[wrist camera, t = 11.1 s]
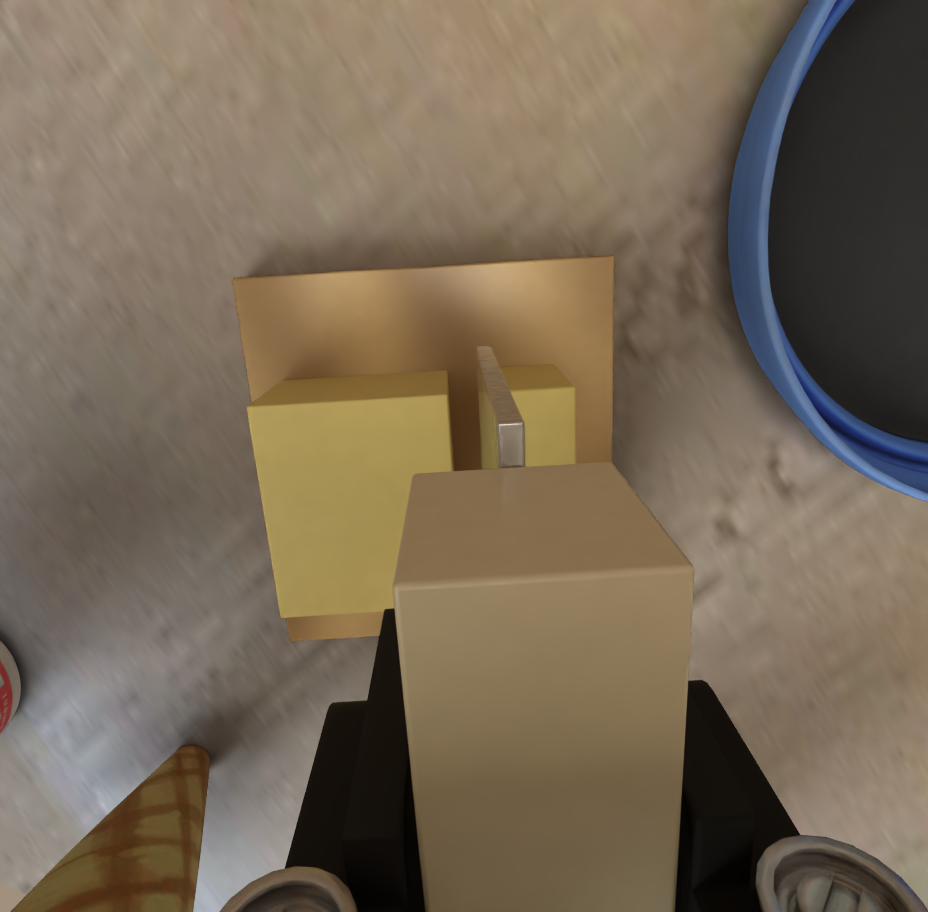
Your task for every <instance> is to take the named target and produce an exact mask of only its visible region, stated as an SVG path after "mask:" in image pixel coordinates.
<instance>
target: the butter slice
mask: <svg viewBox="0 0 928 912" xmlns="http://www.w3.org/2000/svg"><path fill="white" fill-rule="evenodd" d="M500 369H501V371H502V373H503V376H504V378H505V380H506V382H507V385H508V387H509V389H510V391H511V394H512V396H513V398H514V401H515V403H516V405H517V407H518V410H519V412H520V414H521V416H522V419H523V421H524V423H525V456H526V467H534V466H551V465H567V464H576V387H575V386H574V385H573V384H572V383H571V382H570V381H569V380H568V379H567V377H566V376H565V375H564V374H563V373H562V372H561V371H560V370H559V369H558V368H557V367H556V366H555V365H553V364H544V365H528V366H511V367H500Z"/></svg>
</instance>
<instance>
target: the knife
mask: <svg viewBox="0 0 928 912" xmlns="http://www.w3.org/2000/svg"><path fill="white" fill-rule="evenodd" d="M476 359H477V378H478V398H479V418H480V437H481V457H482V470H467V471H451V472H434V473H417V474H415V475H413V477H412V480H411V486H410V492H409V497H408V503H407V509H406V514H405V520H404V525H403V531H402V537H401V542H400V548H399V554H398V559H397V565H396V571H395V576H394V582H393V588H392V589H393V599H394V609H395V619H396V629H397V638H398V648H399V658H400V668H401V678H402V688H403V698H404V708H405V717H406V727H407V737H408V747H409V757H410V767H411V777H412V787H413V796H414V806H415V816H416V826H417V836H418V846H419V856H420V865H421V875H422V885H423V895H424V905H425V912H675V901H676V883H677V866H678V848H679V831H680V814H681V796H682V779H683V761H684V744H685V727H686V709H687V692H688V674H689V657H690V640H691V622H692V605H693V587H694V568H693V565H692V564H691V562H690V561H689V560H688V559H687V557H686V556H685V555H684V554H683V552H682V551H681V550H680V548H679V547H678V546H677V545H676V543H675V542H674V541H673V539H672V538H671V537H670V536H669V534H668V533H667V532H666V531H665V529H664V528H663V527H662V525H661V524H660V523H659V522H658V520H657V519H656V518H655V517H654V515H653V514H652V513H651V511H650V510H649V509H648V508H647V506H646V505H645V504H644V502H643V501H642V500H641V499H640V497H639V496H638V495H637V494H636V492H635V491H634V490H633V488H632V487H631V486H630V485H629V483H628V482H627V481H626V480H625V478H624V477H623V476H622V474H621V473H620V472H619V471H618V469H617V468H616V467H615V465H614V464H613V463H610V462H601V463H584V464H567V465H551V466H534V467H526V456H525V423H524V421H523V419H522V416H521V414H520V412H519V410H518V407H517V405H516V403H515V401H514V398H513V396H512V394H511V391H510V389H509V387H508V385H507V382H506V380H505V378H504V376H503V373H502V371H501V369H500V367H499V364H498V362H497V360H496V358H495V355H494V353H493V351H492V348H491V347H490V346H483V347H476Z"/></svg>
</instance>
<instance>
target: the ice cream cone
mask: <svg viewBox="0 0 928 912" xmlns="http://www.w3.org/2000/svg"><path fill="white" fill-rule="evenodd" d="M209 768H210V757H209V755H208V753H207V752H206V751H205V750H204V749H202V748H201V747H197V746H183V747H180V748H179V749H178V750H177V751H176V752H175V753H174V754H173V755H172V756H171V757H169V758H168V759H167V760H166V761H165V762H164V763H163V764H162V765H161V766H160V767H159V768H158V769H156V770H155V771H154V772H153V773H152V774H151V775H150V776H149V777H148V778H147V779H146V780H145V781H143V782H142V783H141V784H140V785H139V786H138V787H137V788H136V789H135V790H134V791H133V792H132V793H130V794H129V795H128V796H127V797H126V798H125V799H124V800H123V801H122V802H121V803H120V804H119V805H118V806H116V807H115V808H114V809H113V810H112V811H111V812H110V813H109V814H108V815H107V816H106V817H105V818H104V819H103V820H102V821H101V822H100V823H99V824H98V825H97V826H96V827H94V828H93V829H92V830H91V831H90V832H89V833H88V834H87V835H86V836H85V837H84V838H83V839H82V840H81V841H80V842H79V843H78V844H77V845H76V846H75V847H74V848H73V849H72V850H71V851H70V852H69V853H68V854H67V855H66V856H65V857H64V858H63V859H61V860H60V862H59V863H58V864H57V865H56V866H55V867H54V868H53V869H52V870H51V871H50V872H49V873H48V874H47V875H46V876H45V877H44V878H43V879H42V880H41V881H40V882H39V883H38V884H37V885H36V886H35V887H34V888H33V889H32V890H31V891H30V892H29V893H28V894H27V895H26V896H25V897H24V898H23V899H22V901H20V902H19V904H18V905H17V906H16V907H15V908H14V909H13V910H12V911H11V912H193V908H194V900H195V892H196V884H197V876H198V868H199V861H200V853H201V844H202V834H203V825H204V815H205V806H206V796H207V787H208V778H209Z"/></svg>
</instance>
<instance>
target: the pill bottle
mask: <svg viewBox="0 0 928 912" xmlns="http://www.w3.org/2000/svg"><path fill="white" fill-rule="evenodd" d="M20 694H21V683H20V676H19V671H18V668H17V665H16V663H15V661H14V659H13V657H12V655H11V653H10V652H9V650H8V649H7V648H6V646H5V645H4V644H3V643H2V642H1V641H0V733H1V732H2V731H3V730H4V729H5V728H6V727H7V725H8V724H9V723H10V721H11V720H12V718H13V716H14V714H15V712H16V710H17V707H18V704H19V700H20Z"/></svg>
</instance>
